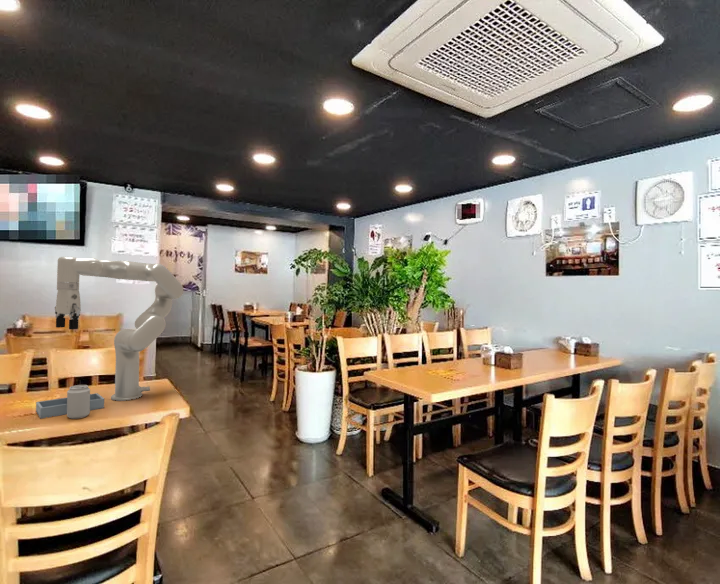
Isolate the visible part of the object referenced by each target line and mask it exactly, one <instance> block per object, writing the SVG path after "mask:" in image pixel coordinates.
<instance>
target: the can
mask: <svg viewBox="0 0 720 584" xmlns="http://www.w3.org/2000/svg"><path fill="white" fill-rule="evenodd" d="M66 394H67V395H66V398H67V414H66V417H67V418H69V419H72V420H75V419H76V420H77V419H82V418H83V419H84V418H86V417H88V415H89V414H90V413H91V412H90V411H91V410H90V394H91V389H90V388H89V385H87V384H77V385H76V384H75V385H71V386H69V389H68V390H67V392H66Z"/></svg>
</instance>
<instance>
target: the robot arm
mask: <svg viewBox="0 0 720 584" xmlns="http://www.w3.org/2000/svg"><path fill="white" fill-rule="evenodd" d="M56 267H57V268H56V272H57V275H56V291H57V294H56V299H55V300H56V302H55V307H54V314H55V328H58V329H59V328H66V317H65V316H66V315H67V316H69V320H68V329H69V330H78V329H79V319H80V315H81V312H82V310H81V294H80V276H85V277H97V278H98V277H99V278H108V279H109V278H110V279H117V280H127V281H129V280H130V281H140V282H153V283H154V282H155V283H156V286H155V288H154V296H155V299H154V301H153V302H152V304H151V305H150V306H148V308H147V309H145V311H144V312H142V313H141V314H140V315H139V316H138V317H137V318H136V319H135V321H134V328H135V329H131V328H124V329H121V330H119V331H118V332H117V333H116V334H115V336H114V339H113V346H114V352H115V371H114V372H115V373H114V374H115V375H114V377H115V378H114V394H111V396H110V399H111V400H112V401H115V400H116V401H115V402H122V401H123V402H124V401H126V400H127V401H132V400H131V399H133V400H137V399H139V397H140V398H141V396H142V397H143V392H148V391H151V387H150V386H140V383H139V382H140V380H139V379H140V352H142V351H144V350H145V349H147V348H148V346H150V345H151V344H152V343H153V342H154V341H155V340H156V339H158V338H159V337H160V335H161V334H162V333H163V332H164V330H165V329H166V320H165V318H166V317H167V316H168V315H169V313H170V312H171V310H172V306H173V300H177V299H179V298H181V297H182V296H183V294H184V286H183V285H182V283H181V282H180V281H179V280H178V278H176V277H175V276H174V274H173V273H172V272H171V271H170V270H169V269H168V268H167V267H166V266H165V265H163V264H162V263H149V262H148V263H147V262H146V263H145V262H138V261H137V262H136V261H128V260H100V259H97V258H93V257H87V258H77V257H73V256H60V257H59V258H58V259H57V266H56ZM136 398H137V399H136ZM127 401H126V402H127Z"/></svg>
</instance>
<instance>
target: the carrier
mask: <svg viewBox="0 0 720 584" xmlns="http://www.w3.org/2000/svg"><path fill="white" fill-rule="evenodd" d="M100 409H101V410H102V409H105V398H104V396H102V395H100V394H99V393H98V392H95V393H90V411H94V410H100ZM35 412H37V413H36V414H37V415H38V417H39V419H46V417H47V418H52V416H53V417H57V416H65V415H67V397H63V398H56V399H48V400H40V401H36V402H35Z"/></svg>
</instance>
